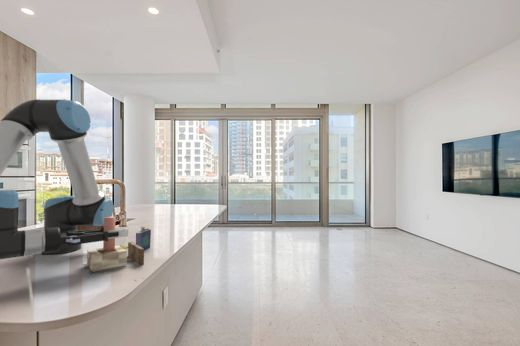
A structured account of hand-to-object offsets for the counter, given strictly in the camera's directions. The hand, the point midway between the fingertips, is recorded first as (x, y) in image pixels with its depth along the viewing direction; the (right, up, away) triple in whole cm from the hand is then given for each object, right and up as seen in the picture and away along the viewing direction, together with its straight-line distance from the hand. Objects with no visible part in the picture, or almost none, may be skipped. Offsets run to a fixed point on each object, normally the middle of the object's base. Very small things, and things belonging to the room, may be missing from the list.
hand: (126, 231), depth 97 cm
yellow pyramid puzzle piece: (-14, -13, +19) cm, 27 cm away
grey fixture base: (-3, -12, -3) cm, 13 cm away
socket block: (-5, -11, -4) cm, 13 cm away
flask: (-2, -13, +17) cm, 22 cm away
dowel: (-4, -8, -4) cm, 10 cm away
